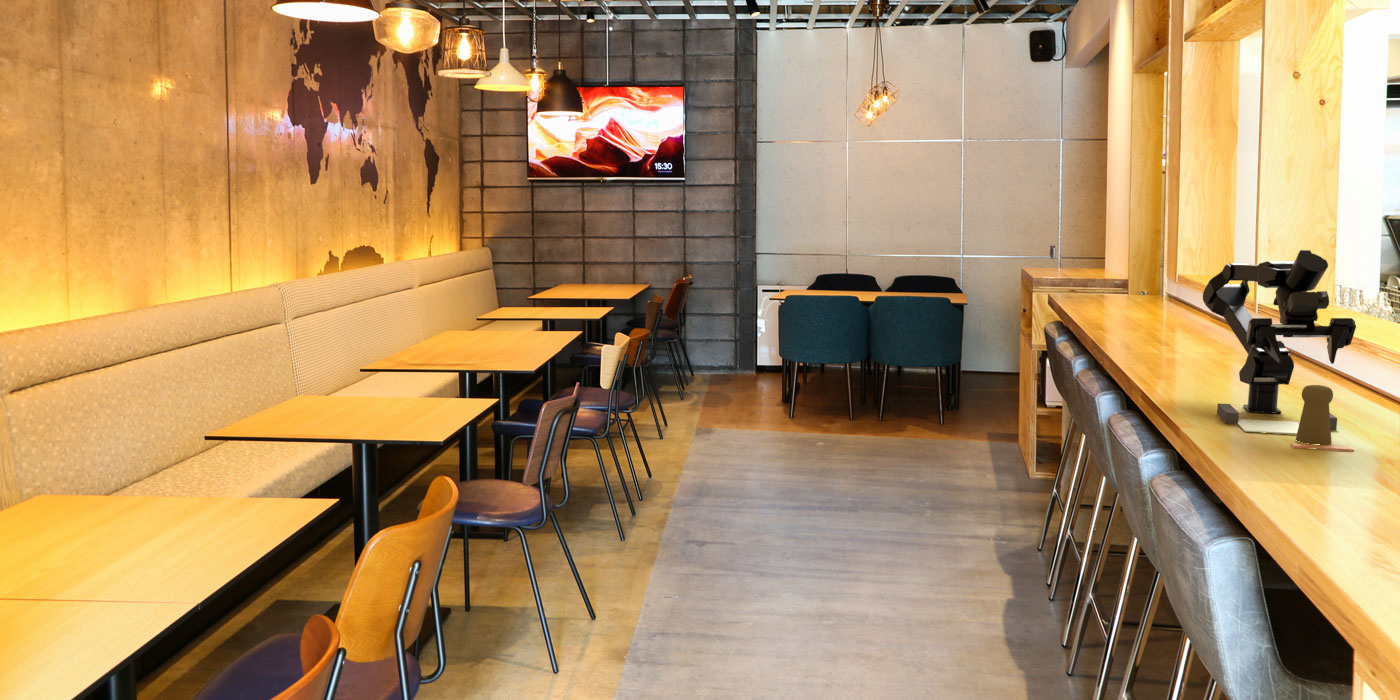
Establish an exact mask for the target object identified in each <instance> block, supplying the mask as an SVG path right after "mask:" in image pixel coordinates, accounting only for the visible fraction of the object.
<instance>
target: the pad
mask: <svg viewBox="0 0 1400 700" xmlns="http://www.w3.org/2000/svg"><path fill="white" fill-rule="evenodd" d="M1299 423H1300V422H1298V421H1288V420H1287V421H1286V420H1268V419H1267V420H1266V419H1252V418H1251V419H1249V418H1239V419H1238V422H1237V424H1238V425H1239V426H1240V427H1241V428H1242V429H1243V430H1244V431H1245V432H1244V431H1243V430H1242V429H1241V428H1240V427H1239V426H1238V425H1237V424H1236V425H1237V426H1238V427H1239V428H1240V429H1241V430H1242V431H1243V432H1244V433H1246V432H1266V433H1275V434H1274V435H1281V434H1288V435H1287V436H1297V432H1298V428H1299Z"/></svg>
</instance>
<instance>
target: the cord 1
mask: <svg viewBox="0 0 1400 700" xmlns="http://www.w3.org/2000/svg"><path fill="white" fill-rule="evenodd" d="M1216 415H1217V416H1218V417H1219V419H1221V421H1222V422H1223V423H1224V424H1226V425H1227V424H1228V425H1237V422H1238V419H1240V417H1239V416H1240V413H1239V412H1238V410H1236V408H1234V407H1233V405H1232V404H1230V403H1217V409H1216Z"/></svg>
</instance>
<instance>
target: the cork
mask: <svg viewBox="0 0 1400 700" xmlns="http://www.w3.org/2000/svg"><path fill="white" fill-rule="evenodd" d="M1333 398H1334V392H1333V390H1332V388H1330V387H1329V386H1327V385H1321V384H1310V385H1306V386H1304V387H1303V389H1302V391H1301V399H1302V400H1303V401H1304V403H1303V407H1302V411H1301V415H1300V419H1299V422H1298V423H1299V428H1298V432H1297V435H1295V441H1296V440H1297V441H1300V442H1303V443H1302V444H1304V443H1309V444H1308V445H1310V444H1320V445H1323V446H1330V445H1332V444H1331V443H1332V429H1331V427H1330V413H1331V412H1330V403H1331V402H1332V400H1333ZM1297 441H1296V442H1297ZM1300 442H1299V443H1300ZM1329 444H1330V445H1329Z"/></svg>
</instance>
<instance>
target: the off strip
mask: <svg viewBox="0 0 1400 700" xmlns="http://www.w3.org/2000/svg"><path fill="white" fill-rule="evenodd" d="M1290 446H1291V447H1292V448H1293V447H1294V448H1293V449H1300V448H1316V449H1315V450H1317V449H1327V450H1326V451H1334V450H1337V452H1338V451H1339V452H1350V453H1352V452H1355V449H1354V448H1353V447H1351V446H1337V445H1336V446H1335V445H1310V444H1304V443H1290Z"/></svg>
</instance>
